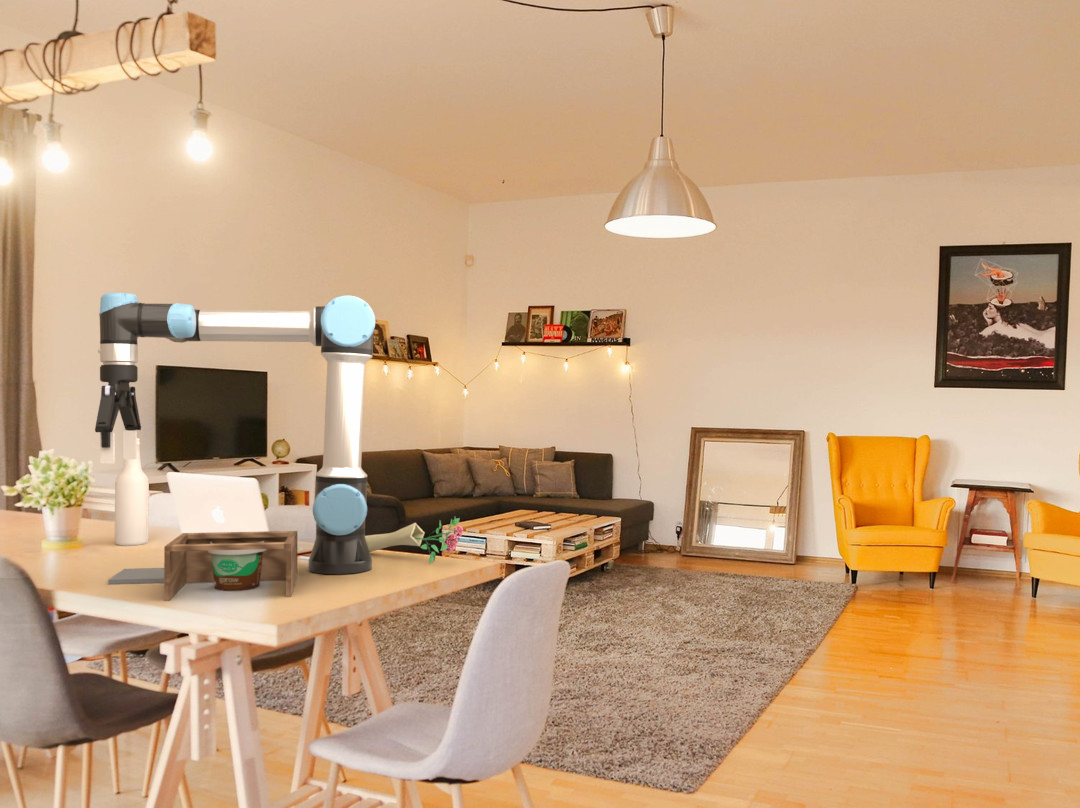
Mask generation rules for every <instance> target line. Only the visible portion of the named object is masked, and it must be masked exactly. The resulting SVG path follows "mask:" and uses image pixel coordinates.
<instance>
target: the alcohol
mask: <svg viewBox="0 0 1080 808" xmlns="http://www.w3.org/2000/svg"><path fill="white" fill-rule="evenodd" d="M140 441H141V439H140V438H138V437H137V459H123V466H122V470H121V472H120V473H119V474H118V475H117V477H116V479H115V482H114V543H115V544H116V545H117V546H121V547H126V546H127V547H130V546H132V547H133V546H143V545H146V544H147V543H148V541H149V540H150V539H149V533H150V532H149V530H150V529H149V525H150V523H149V521H150V519H149V517H150V515H149V511H150V509H149V507H150V504H149V503H150V502H149V501H150V500H149V499H150V495H149V494H150V487H149V486H150V484H149V483H150V482H149V479H148V478H149V477H148V475H147V474H146V473H145V472H144V471H143V469H142V464H141V463H142V460H141V449H140V447H141V446H140V444H141V442H140Z"/></svg>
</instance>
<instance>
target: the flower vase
mask: <svg viewBox="0 0 1080 808" xmlns="http://www.w3.org/2000/svg"><path fill="white" fill-rule="evenodd" d="M441 522H442V521H441V520H439V526H438V527H437V528H436V529H435V533H436V535H431V534H433V533H434V531H432V532H431V534H429V536H428V537H424V536H425V531H424V530H423V529H422V528H421V527H420V526H419V525H418V524H417V522H413V523H411V524H409V525H406V526H405V527H402V528H400V529H398V530H396V531H393V532H390V533H380V534H379V533H378V534H369V535H365V539H366V542H367V545H368V548H369V551H370V553H372V552H375V551H378V550H382V549H385V548H389V547H395V546H411V547H412V546H413V547H420V548H421V549H422V550H428V552H429V553H428V554H429V559H428V560H429V565H430V564H432V563H434V561H435V559H436V552H437V554H440V552H439V551H445V553H446V552H447V553H449V554H450V552H452V551H454V550H455V549H457V546H458V540H459V538H460V537H462V535H463V534H464V528H463V526H462V525H458V524H459V523H460V517H459V518H458V517H457V518H456V517H454V519H453V518H451V519H450V523H449V526H448V527H447V528H446V529H445V530H444V531H442V532H440V529H442V523H441ZM452 526H454V527H453V530H454V531H451V530H450V529H451V527H452ZM447 530H448V531H447ZM445 531H447V532H445ZM443 532H444V533H443ZM430 535H431V536H430ZM444 536H445V537H444ZM436 537H439V538H436ZM423 540H424V541H425V542H427V540H428V541H439V543H442V545H441V548H440V550H439V548H438V547H437V546H436V545H435V544H430V543H424V544H422V541H423ZM421 544H422V545H421ZM429 545H431V546H430V547H429ZM430 548H432V549H433V550H434V551H431V549H430ZM430 552H431V553H430Z"/></svg>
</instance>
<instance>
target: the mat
mask: <svg viewBox="0 0 1080 808" xmlns="http://www.w3.org/2000/svg"><path fill="white" fill-rule="evenodd" d="M107 582H108V585H124V584H125V585H127V584H129V585H130V584H133V585H134V584H160V583H161V584H163V583H164V567H147V568H145V567H141V568H137V567H135V568H123V569H121V570H120V571H119V572H117V573H116V574H115V575H113V576H112V577H111V578H109V579H108V581H107Z"/></svg>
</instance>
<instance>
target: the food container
mask: <svg viewBox="0 0 1080 808" xmlns="http://www.w3.org/2000/svg"><path fill="white" fill-rule="evenodd" d="M258 543H264V541H262V542H258ZM211 544H213V543H212V542H211ZM265 550H266V549H252V550H209V551H208V552H209V553H211V555H212V565H213V575H214V582H213V586H214V589H215V590H217V591H222V592H237V591H238V592H240V591H249V590H252V589H253V590H254V589H257V588H258V587H259V588H260V583H261V581H260V576H261V567H262V558H263V551H265Z"/></svg>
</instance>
